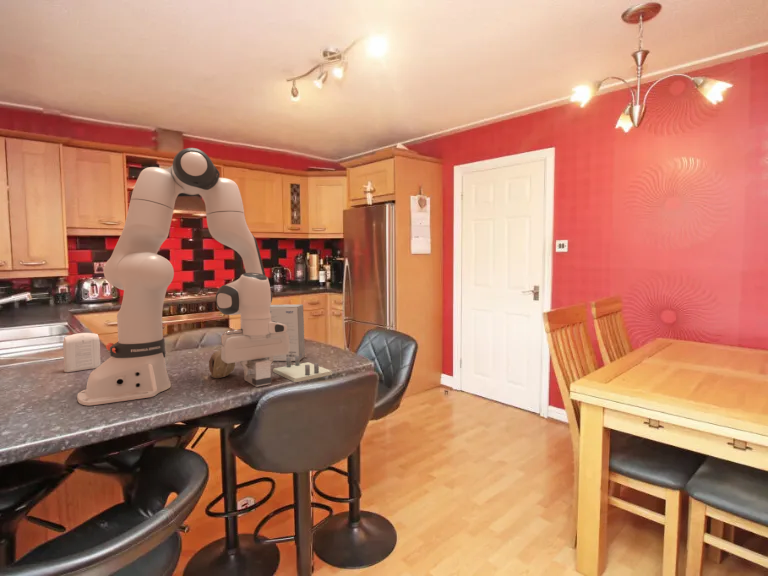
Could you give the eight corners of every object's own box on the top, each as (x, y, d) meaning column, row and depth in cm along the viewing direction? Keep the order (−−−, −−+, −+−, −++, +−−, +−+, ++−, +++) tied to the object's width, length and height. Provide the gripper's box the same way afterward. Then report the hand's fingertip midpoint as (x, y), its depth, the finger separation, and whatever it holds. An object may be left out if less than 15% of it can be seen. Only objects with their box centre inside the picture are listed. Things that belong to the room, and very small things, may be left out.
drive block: (256, 387, 125) (255, 363, 124) (244, 380, 132) (243, 357, 131) (271, 384, 127) (270, 360, 127) (258, 377, 135) (258, 355, 134)
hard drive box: (305, 357, 162) (304, 304, 161) (299, 362, 155) (298, 306, 153) (265, 356, 164) (264, 304, 162) (257, 361, 156) (256, 306, 155)
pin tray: (295, 382, 130) (295, 368, 129) (273, 372, 141) (273, 359, 141) (332, 374, 138) (331, 361, 138) (308, 365, 149) (308, 353, 149)
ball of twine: (220, 380, 141) (220, 349, 143) (242, 377, 139) (242, 346, 141) (200, 378, 132) (201, 346, 135) (223, 376, 130) (224, 343, 133)
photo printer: (99, 365, 151) (97, 330, 150) (102, 367, 148) (100, 332, 147) (63, 371, 143) (60, 334, 142) (65, 373, 140) (63, 336, 139)
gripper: (224, 332, 120) (226, 381, 121) (291, 325, 132) (292, 369, 133) (217, 329, 124) (218, 377, 125) (282, 323, 137) (283, 365, 138)
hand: (257, 373), depth 130 cm, fingers closed on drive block, 4 cm apart
